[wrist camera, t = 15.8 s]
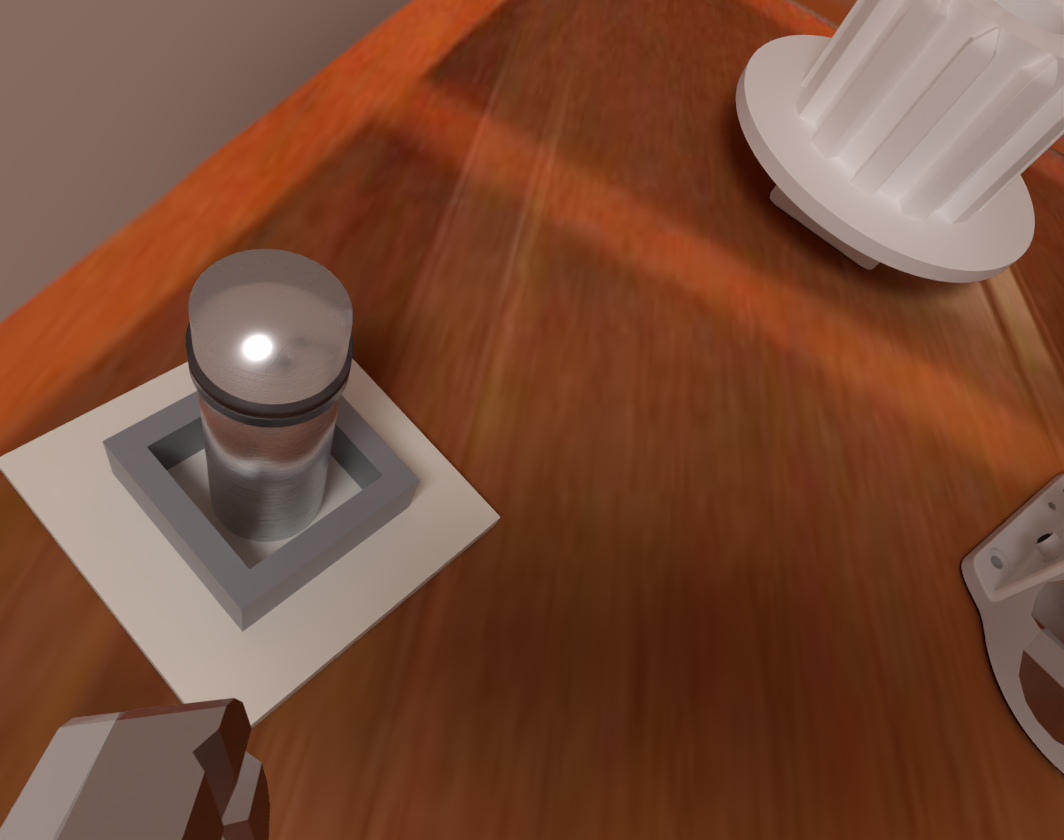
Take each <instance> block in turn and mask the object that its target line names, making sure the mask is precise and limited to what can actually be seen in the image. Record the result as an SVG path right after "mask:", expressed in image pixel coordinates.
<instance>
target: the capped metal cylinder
mask: <svg viewBox="0 0 1064 840" xmlns="http://www.w3.org/2000/svg"><path fill="white" fill-rule="evenodd" d="M189 320H190V322H189V325H188V328H187V333H186V350H187V358H188V365H189V371H190V376H191V379H192V381H193V384H194V386H195V388H196V389H197V391H198V395H199V404H200V412H201V421H202V429H203V438H204V446H205V454H206V463H207V471H208V480H209V488H210V496H211V503H212V507H213V510H214V512H215V514H216V516H217V518H218V519H219V521H220V522H221V523H222V524H223V525H224V526H225V527H226V528H227V529H228V530H229V531H231V532H232V533H234V534H235V535H237V536H239V537H242V538H244V539H247V540H251V541H257V542H275V541H280V540H284V539H287V538H290V537H292V536H294V535H296V534H298V533H299V532H301V531H302V530H304V529H305V528H306V527H307V526H308V525H309V524H310V523H311V522H312V521H313V520H314V518H315V517H316V515H317V514H318V512H319V510H320V507H321V504H322V500H323V494H324V488H325V483H326V477H327V471H328V465H329V459H330V453H331V447H332V441H333V435H334V429H335V423H336V417H337V411H338V405H339V399H340V396H341V395H342V393H343V391H344V389H345V387H346V385H347V382H348V379H349V374H350V368H351V363H352V357H353V337H352V334H351V328H352V321H353V311H352V305H351V301H350V298H349V296H348V294H347V292H346V290H345V288H344V287H343V285H342V284H341V282H340V281H339V280H338V279H337V278H336V277H335V276H334V275H333V274H332V273H331V272H330V271H329V270H328V269H326V268H325V267H323V266H322V265H320V264H319V263H317V262H315V261H314V260H311V259H309V258H307V257H305V256H302V255H299V254H296V253H292V252H288V251H283V250H276V249H254V250H248V251H242V252H239V253H235V254H232V255H229V256H227V257H225V258H223V259H221V260H219V261H217V262H215V263H214V264H213V265H211V266H210V267H209V268H207V269H206V270H205V271H204V272H203V273H202V274H201V276H200V277H199V278H198V279H197V281H196V283H195V284H194V286H193V288H192V291H191V294H190V298H189Z"/></svg>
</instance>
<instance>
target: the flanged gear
mask: <svg viewBox="0 0 1064 840" xmlns="http://www.w3.org/2000/svg"><path fill="white" fill-rule="evenodd" d="M736 109H737V114H738V118H739V122H740V125H741V128H742V130H743V133H744V136H745V138H746V140H747V142H748V144H749V146H750V148H751V149H752V151H753V153H754V155H755V156H756V158H757V159H758V161H759V162H760V164H761V165H762V167H763V168H764V169H765V171H766V172H767V173H768V175H769V176H770V177H771V178H772V180H773V181H774V182H775V183H776V186H775V187H774V189H773V190H772V191H771V193H770V200H771V201H772V202H773V203H774V205H776V206H777V207H779V208H780V209H781V210H783V211H784V212H785V213H787V214H788V215H790V216H791V217H792V218H794V219H795V220H797V221H798V222H799V223H801V224H802V225H804V226H805V227H806V228H808V229H809V230H811V231H812V232H813V233H815V234H816V235H817V236H819V237H820V238H822V239H823V240H824V241H826V242H827V243H829V244H830V245H831V246H833V247H834V248H836V249H837V250H838V251H840V252H841V253H843V254H844V255H845V256H847V257H848V258H849V259H851V260H852V261H854V262H855V263H856V264H858V265H859V266H861V267H862V268H865V269H867V270H871V269H873V268H875V267H876V266H877V265H878V264H879V263H880V262H881V263H883V264H886V265H888V266H890V267H892V268H895V269H898V270H900V271H903V272H906V273H909V274H912V275H915V276H919V277H923V278H927V279H932V280H937V281H944V282H955V283H966V282H976V281H982V280H985V279H989V278H991V277H994V276H996V275H998V274H1000V273H1001V272H1003V271H1004V270H1005V269H1007V268H1008V267H1009V266H1010V265H1011V264H1013V263H1014V262H1015V261H1016V260H1017V259H1019V258H1020V257H1021V256H1022V255H1023V254H1024V253H1025V252H1026V250H1027V249H1028V247H1029V245H1030V243H1031V241H1032V238H1033V234H1034V227H1035V218H1034V210H1033V205H1032V202H1031V198H1030V195H1029V192H1028V190H1027V187H1026V185H1025V183H1024V181H1023V179H1022V177H1021V175H1020V174H1021V173H1022V172H1023V171H1024V170H1026V169H1027V168H1028V167H1029V166H1030V165H1031V164H1032V163H1033V162H1034V161H1035V160H1036V159H1037V158H1038V157H1039V156H1040V155H1042V154H1043V153H1044V152H1045V151H1046V150H1047V149H1048V148H1049V147H1050V146H1051V145H1052V144H1053V143H1054V142H1055V141H1056V140H1057V139H1059V138H1060V137H1061V136H1062V135H1063V134H1064V0H857V2H856V3H855V4H854V6H853V7H852V9H851V10H850V12H849V13H848V15H847V16H846V18H845V19H844V21H843V22H842V24H841V25H840V27H839V28H838V30H837V31H836V32H835V34H834V35H833V37H832V38H829V37H823V36H814V35H795V36H787V37H782V38H779V39H775V40H773V41H770V42H768V43H767V44H765V45H763V46H762V47H761V48H759V49H758V50H757V51H756V52H755V53H754V55H753V56H752V58H751V59H750V61H749V62H748V64H747V66H746V67H745V69H744V71H743V72H742V74H741V76H740V78H739V81H738V84H737V89H736Z"/></svg>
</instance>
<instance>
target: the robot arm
mask: <svg viewBox="0 0 1064 840" xmlns="http://www.w3.org/2000/svg"><path fill="white" fill-rule="evenodd" d="M961 568H962V573H963V576H964V579H965V582H966V584H967V586H968V589H969V591H970V593H971V595H972V597H973V599H974V601H975V603H976V605H977V607H978V609H979V611H980V614H981V618H982V622H983V627H984V633H985V639H986V645H987V650H988V654H989V658H990V661H991V665H992V668H993V671H994V674H995V676H996V679H997V681H998V684H999V686H1000V688H1001V690H1002V693H1003V695H1004V697H1005V699H1006V701H1007V703H1008V705H1009V706H1010V708H1011V710H1012V712H1013V713H1014V715H1015V717H1016V718H1017V720H1018V721H1019V723H1020V724H1021V726H1022V727H1023V729H1024V730H1025V732H1026V733H1027V734H1028V736H1029V737H1030V738H1031V740H1032V741H1033V742H1034V743H1035V745H1036V746H1037V747H1038V748H1039V749H1040V750H1041V752H1042V753H1043V754H1044V755H1045V756H1046V757H1047V758H1048V759H1049V760H1050V761H1051V762H1052V763H1053V764H1054V765H1055V766H1056V767H1057V768H1058V769H1059V770H1060V771H1061V772H1062V773H1064V473H1062V474H1060V475H1058V476H1056V477H1054V478H1053V479H1052V480H1051V481H1050V482H1049V483H1048V484H1046V485H1045V486H1044V487H1043V488H1042V489H1041V490H1040V491H1039V492H1037V493H1036V494H1035V495H1034V496H1033V497H1032V498H1031V499H1030V500H1028V501H1027V502H1026V503H1025V504H1024V505H1023V506H1022V507H1021V508H1020V509H1018V510H1017V511H1016V512H1015V513H1014V514H1013V515H1012V516H1011V517H1009V518H1008V519H1007V520H1006V521H1005V522H1004V523H1003V524H1002V525H1001V526H999V527H998V528H997V529H996V530H995V531H994V532H993V533H992V534H990V535H989V536H988V537H987V538H986V539H985V540H984V541H983V542H981V543H980V544H979V545H978V546H977V547H976V548H975V549H974V550H973V551H971V552H970V553H969V554H968V555H967V556H966V557H965V558H964V559H963V561H962V565H961ZM251 729H252V728H251V725H250V722H249V719H248V716H247V713H246V710H245V707H244V704H243V702H241V701H239V700H237V699H235V698H228V699H219V700H211V701H203V702H194V703H186V704H177V705H169V706H161V707H152V708H144V709H135V710H128V711H127V712H119V713H110V714H102V715H93V716H85V717H77V718H72V719H71V720H70V721H68V722H67V723H65V724H64V725H63V726H61V727H60V728H59V729H58V730H57V732H56V733H55V735H54V737H53V738H52V740H51V742H50V743H49V745H48V747H47V749H46V750H45V752H44V754H43V755H42V757H41V759H40V761H39V762H38V764H37V766H36V767H35V769H34V771H33V773H32V774H31V776H30V778H29V780H28V781H27V783H26V785H25V786H24V788H23V790H22V792H21V793H20V795H19V797H18V798H17V800H16V802H15V804H14V805H13V807H12V809H11V810H10V812H9V814H8V816H7V817H6V819H5V821H4V822H3V824H2V826H1V828H0V840H268V839H269V818H270V802H269V793H268V785H267V780H266V776H265V773H264V769H263V765H262V763H261V762H260V761H258V760H257V759H256V758H254V757H253V756H251V755H250V754H248V753H247V752H246V748H247V744H248V740H249V736H250V732H251Z"/></svg>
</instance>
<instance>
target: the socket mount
mask: <svg viewBox="0 0 1064 840" xmlns="http://www.w3.org/2000/svg"><path fill="white" fill-rule="evenodd" d="M0 471H1V472H2V473H3V474H4V476H5V477H6V478H7V479H8V481H9V482H10V483H11V485H12V486H13V487H14V488H15V490H16V491H17V492H18V494H19V495H20V496H21V497H22V499H23V500H24V501H25V503H26V504H27V505H28V506H29V508H30V509H31V510H32V511H33V513H34V514H35V515H36V517H37V518H38V519H39V520H40V522H41V523H42V524H43V526H44V527H45V528H46V529H47V531H48V532H49V533H50V534H51V536H52V537H53V538H54V540H55V541H56V542H57V543H58V545H59V546H60V547H61V549H62V550H63V551H64V552H65V554H66V555H67V556H68V558H69V559H70V560H71V561H72V563H73V564H74V565H75V566H76V568H77V569H78V570H79V572H80V573H81V574H82V575H83V577H84V578H85V579H86V581H87V582H88V583H89V584H90V586H91V587H92V588H93V589H94V591H95V592H96V593H97V595H98V596H99V597H100V598H101V600H102V601H103V602H104V604H105V605H106V606H107V607H108V609H109V610H110V611H111V613H112V614H113V615H114V616H115V618H116V619H117V620H118V621H119V623H120V624H121V625H122V627H123V628H124V629H125V630H126V632H127V633H128V634H129V636H130V637H131V638H132V639H133V641H134V642H135V643H136V645H137V646H138V647H139V648H140V650H141V651H142V652H143V653H144V655H145V656H146V657H147V659H148V660H149V661H150V662H151V664H152V665H153V666H154V668H155V669H156V670H157V671H158V673H159V674H160V675H161V676H162V678H163V679H164V680H165V682H166V683H167V684H168V685H169V687H170V688H171V689H172V691H173V692H174V693H175V694H176V696H177V697H178V698H179V700H180V701H181V702H182V703H183V704H186V703H194V702H203V701H211V700H219V699H228V698H235V699H237V700H239V701H241V702H243V704H244V707H245V710H246V713H247V716H248V719H249V722H250V725H251V728H254V727H255V726H256V725H257V724H258V723H260V722H261V721H262V720H263V719H264V718H265V717H267V716H268V715H269V714H270V713H271V712H273V711H274V710H275V709H276V708H277V707H279V706H280V705H281V704H282V703H283V702H285V701H286V700H287V699H288V698H289V697H291V696H292V695H293V694H294V693H295V692H297V691H298V690H299V689H300V688H301V687H303V686H304V685H305V684H306V683H307V682H309V681H310V680H311V679H312V678H313V677H314V676H316V675H317V674H318V673H319V672H320V671H322V670H323V669H324V668H325V667H326V666H328V665H329V664H330V663H331V662H332V661H334V660H335V659H336V658H337V657H338V656H340V655H341V654H342V653H343V652H344V651H346V650H347V649H348V648H349V647H350V646H352V645H353V644H354V643H355V642H356V641H357V640H359V639H360V638H361V637H362V636H363V635H365V634H366V633H367V632H368V631H369V630H371V629H372V628H373V627H374V626H375V625H377V624H378V623H379V622H380V621H381V620H383V619H384V618H385V617H386V616H387V615H389V614H390V613H391V612H392V611H393V610H395V609H396V608H397V607H398V606H399V605H401V604H402V603H403V602H404V601H405V600H406V599H408V598H409V597H410V596H411V595H412V594H414V593H415V592H416V591H417V590H418V589H420V588H421V587H422V586H423V585H424V584H426V583H427V582H428V581H429V580H430V579H432V578H433V577H434V576H435V575H436V574H438V573H439V572H440V571H441V570H442V569H444V568H445V567H446V566H447V565H448V564H450V563H451V562H452V561H453V560H454V559H455V558H457V557H458V556H459V555H460V554H461V553H463V552H464V551H465V550H466V549H467V548H469V547H470V546H471V545H472V544H473V543H475V542H476V541H477V540H478V539H479V538H481V537H482V536H483V535H484V534H485V533H487V532H488V531H489V530H490V529H491V528H493V527H494V526H495V525H496V524H497V522H498V520H499V519H500V516H499V515H498V514H497V513H496V512H495V511H494V510H493V509H492V507H491V506H490V505H489V504H488V503H487V502H486V501H485V500H484V499H483V498H482V497H481V496H480V495H479V494H478V492H477V491H476V490H475V489H474V488H473V487H472V486H471V485H470V484H469V483H468V482H467V481H466V480H465V479H464V477H463V476H462V475H461V474H460V473H459V472H458V471H457V470H456V469H455V468H454V467H453V466H452V465H451V464H450V462H449V461H448V460H447V459H446V458H445V457H444V456H443V455H442V454H441V453H440V452H439V451H438V450H437V449H436V447H435V446H434V445H433V444H432V443H431V442H430V441H429V440H428V439H427V438H426V437H425V436H424V435H423V434H422V432H421V431H420V430H419V429H418V428H417V427H416V426H415V425H414V424H413V423H412V422H411V421H410V420H409V419H408V417H407V416H406V415H405V414H404V413H403V412H402V411H401V410H400V409H399V408H398V407H397V406H396V405H395V404H394V402H393V401H392V400H391V399H390V398H389V397H388V396H387V395H386V394H385V393H384V392H383V391H382V390H381V389H380V387H379V386H378V385H377V384H376V383H375V382H374V381H373V380H372V379H371V378H370V377H369V376H368V375H367V374H366V372H365V371H364V370H363V369H362V368H361V367H360V366H359V365H358V364H357V363H356V362H355V361H354V360H353V359H352V363H351V368H350V374H349V379H348V382H347V385H346V387H345V389H344V391H343V393H342V395H341V396H340V399H339V405H338V411H337V417H336V423H335V429H334V435H333V441H332V447H331V453H330V459H329V465H328V471H327V477H326V483H325V488H324V494H323V500H322V504H321V507H320V510H319V512H318V514H317V515H316V517H315V518H314V520H313V521H312V522H311V523H310V524H309V525H308V526H307V527H306V528H305V529H304V530H302V531H301V532H299V533H298V534H296V535H294V536H292V537H290V538H287V539H284V540H280V541H275V542H257V541H251V540H247V539H244V538H242V537H239V536H237V535H235V534H234V533H232V532H231V531H229V530H228V529H227V528H226V527H225V526H224V525H223V524H222V523H221V522H220V521H219V519H218V518H217V516H216V514H215V512H214V510H213V507H212V503H211V496H210V488H209V480H208V471H207V463H206V454H205V446H204V438H203V429H202V421H201V412H200V404H199V395H198V391H197V389H196V388H195V386H194V384H193V381H192V379H191V376H190V371H189V365H188V362H186V363H184V364H182V365H180V366H178V367H177V368H175V369H173V370H171V371H169V372H167V373H165V374H163V375H161V376H159V377H157V378H155V379H153V380H151V381H149V382H147V383H145V384H143V385H141V386H139V387H137V388H135V389H133V390H131V391H129V392H127V393H125V394H123V395H121V396H119V397H117V398H115V399H113V400H111V401H110V402H108V403H106V404H104V405H102V406H100V407H98V408H96V409H94V410H92V411H90V412H88V413H86V414H84V415H82V416H80V417H78V418H76V419H74V420H72V421H70V422H68V423H66V424H64V425H62V426H60V427H58V428H56V429H54V430H52V431H50V432H48V433H46V434H44V435H43V436H41V437H39V438H37V439H35V440H33V441H31V442H29V443H27V444H25V445H23V446H21V447H19V448H17V449H15V450H13V451H11V452H9V453H7V454H5V455H3V456H1V457H0Z"/></svg>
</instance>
